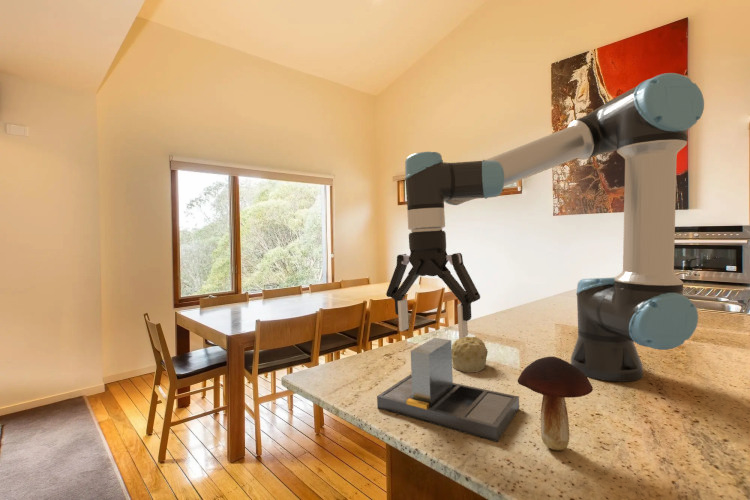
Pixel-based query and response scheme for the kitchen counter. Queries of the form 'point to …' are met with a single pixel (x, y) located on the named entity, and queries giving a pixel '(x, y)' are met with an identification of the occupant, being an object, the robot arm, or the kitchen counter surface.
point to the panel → (432, 371)
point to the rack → (455, 408)
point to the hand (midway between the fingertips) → (432, 333)
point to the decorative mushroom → (555, 395)
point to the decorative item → (469, 354)
